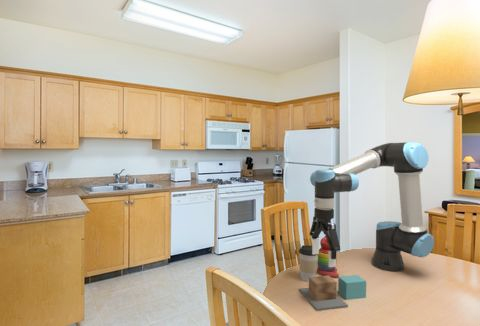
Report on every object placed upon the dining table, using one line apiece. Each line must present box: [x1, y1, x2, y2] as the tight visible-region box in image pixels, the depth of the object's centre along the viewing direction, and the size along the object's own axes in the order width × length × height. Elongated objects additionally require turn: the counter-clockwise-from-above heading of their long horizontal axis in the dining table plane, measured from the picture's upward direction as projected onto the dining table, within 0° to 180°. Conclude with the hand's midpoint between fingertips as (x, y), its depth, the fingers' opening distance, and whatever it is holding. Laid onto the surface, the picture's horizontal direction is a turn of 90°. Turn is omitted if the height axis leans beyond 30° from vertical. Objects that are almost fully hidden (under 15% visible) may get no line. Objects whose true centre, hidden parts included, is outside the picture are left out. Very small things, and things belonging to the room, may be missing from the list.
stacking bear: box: [316, 235, 340, 279], centre depth 141 cm, size 11×10×18 cm
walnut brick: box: [308, 275, 338, 301], centre depth 117 cm, size 9×6×7 cm, turn 102°
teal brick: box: [337, 274, 367, 301], centre depth 120 cm, size 9×6×7 cm, turn 102°
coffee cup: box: [298, 245, 318, 283], centre depth 135 cm, size 9×9×15 cm
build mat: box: [298, 287, 349, 312], centre depth 117 cm, size 13×16×1 cm
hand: (323, 260), depth 116 cm, fingers open, 13 cm apart
